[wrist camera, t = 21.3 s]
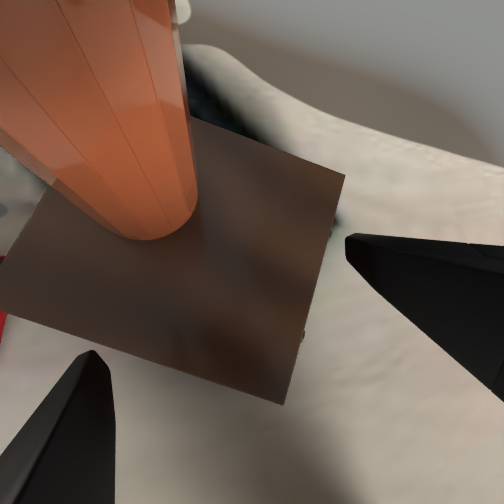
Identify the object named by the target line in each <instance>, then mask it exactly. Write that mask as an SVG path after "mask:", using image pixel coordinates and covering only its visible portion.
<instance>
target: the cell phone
mask: <svg viewBox="0 0 504 504" xmlns="http://www.w3.org/2000/svg"><path fill="white" fill-rule="evenodd" d="M4 259H5V256H0V265H1V264H2V262H3V260H4ZM6 316H7V313H6V312H3V311H0V342H1V338H2V333H3V329H4V325H5V320H6Z"/></svg>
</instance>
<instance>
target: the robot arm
mask: <svg viewBox="0 0 504 504" xmlns="http://www.w3.org/2000/svg"><path fill="white" fill-rule="evenodd" d="M345 255H346V259H347V261H348V262H349V263H350V264H351V265H352V266H353V267H354V268H355V270H356V271H357V272H358V273H359V274H360V275H361V276H362V277H363V278H364V279H365V280H366V281H367V282H368V283H369V285H370V286H371V287H372V288H373V289H374V290H376V291H377V292H378V293H379V294H380V295H381V296H382V297H383V298H385V299H386V300H387V301H388V302H389V303H390V304H391V305H393V306H394V307H395V308H396V309H397V310H398V311H400V312H401V313H402V314H403V315H404V316H405V317H406V318H408V319H409V320H410V321H411V322H412V323H413V324H415V325H416V326H417V327H418V328H419V329H420V330H421V331H423V332H424V333H425V334H426V335H427V336H428V337H429V338H431V339H432V340H433V341H434V342H435V343H436V344H438V345H439V346H440V347H441V348H442V349H443V350H444V351H446V352H447V353H448V354H449V355H450V356H451V357H453V358H454V359H455V360H456V361H457V362H458V363H459V364H461V365H462V366H463V367H464V368H465V369H466V370H468V371H469V372H470V373H471V374H472V375H473V376H474V377H476V378H477V379H478V380H479V381H480V382H481V383H482V384H484V385H485V386H486V387H487V388H488V389H490V390H491V391H492V392H493V393H494V394H495V395H496V396H497V397H498V398H500V399H501V400H502V401H503V402H504V246H496V245H483V244H472V243H470V244H467V243H461V242H450V241H439V240H428V239H417V238H406V237H395V236H384V235H373V234H362V233H354V234H352V235H350V236H347V237H346V238H345ZM115 443H116V421H115V410H114V400H113V391H112V382H111V373H110V369H109V367H108V366H107V364H106V363H105V362H104V361H103V359H102V358H101V357H100V356H99V355H98V353H97V352H96V351H94V350H90V351H87V352H85V353H83V354H81V355H79V356H77V357H76V359H75V360H74V361H73V362H72V364H71V365H70V366H69V368H68V369H67V370H66V372H65V373H64V374H63V375H62V377H61V378H60V379H59V381H58V382H57V383H56V384H55V386H54V387H53V388H52V390H51V391H50V392H49V394H48V395H47V396H46V397H45V399H44V400H43V401H42V403H41V404H40V405H39V406H38V408H37V409H36V410H35V412H34V413H33V414H32V416H31V417H30V418H29V419H28V421H27V422H26V423H25V425H24V426H23V427H22V428H21V430H20V431H19V432H18V434H17V435H16V436H15V437H14V439H13V440H12V441H11V443H10V444H9V445H8V447H7V448H6V449H5V450H4V452H3V453H2V454H1V456H0V504H115Z"/></svg>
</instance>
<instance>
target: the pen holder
mask: <svg viewBox="0 0 504 504" xmlns="http://www.w3.org/2000/svg"><path fill="white" fill-rule="evenodd" d="M0 147H2V148H3V149H4V150H6V151H7V152H8V153H9V154H11V155H12V156H13V157H14V158H16V159H17V160H18V161H20V162H21V163H22V164H23V165H25V166H26V167H27V168H29V169H30V170H31V171H32V172H34V173H35V174H36V175H38V176H39V177H40V178H41V179H43V180H44V181H45V182H46V183H48V184H49V185H50V186H52V187H53V188H54V189H55V190H57V191H58V192H59V193H61V194H62V195H63V196H64V197H66V198H67V199H68V200H69V201H71V202H72V203H73V204H75V205H76V206H77V207H78V208H80V209H81V210H82V211H84V212H85V213H86V214H87V215H89V216H90V217H91V218H93V219H94V220H95V221H96V222H98V223H99V224H100V225H101V226H103V227H104V228H106V229H108V230H110V231H111V232H113V233H114V234H117V235H119V236H121V237H124V238H127V239H133V240H152V239H157V238H161V237H164V236H166V235H169V234H171V233H172V232H174V231H176V230H177V229H179V228H180V227H181V226H182V225H183V224H184V223H185V222H186V221H187V220H188V219H189V218H190V216H191V215H192V213H193V211H194V210H195V207H196V205H197V201H198V195H199V186H198V172H197V165H196V157H195V150H194V142H193V135H192V127H191V120H190V112H189V105H188V97H187V90H186V82H185V75H184V67H183V60H182V52H181V45H180V37H179V30H178V22H177V15H176V7H175V0H0Z"/></svg>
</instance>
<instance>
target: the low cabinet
mask: <svg viewBox="0 0 504 504" xmlns="http://www.w3.org/2000/svg"><path fill="white" fill-rule="evenodd" d="M190 120H191V127H192V135H193V142H194V150H195V157H196V165H197V172H198V186H199V195H198V201H197V205H196V207H195V210H194V211H193V213H192V215H191V216H190V218H189V219H188V220H187V221H186V222H185V223H184V224H183V225H182V226H181V227H180V228H179V229H177V230H176V231H174V232H172V233H171V234H169V235H166V236H164V237H161V238H157V239H152V240H133V239H127V238H124V237H121V236H119V235H117V234H114V233H113V232H111V231H110V230H108V229H106V228H104V227H103V226H101V225H100V224H99V223H98V222H96V221H95V220H94V219H93V218H91V217H90V216H89V215H87V214H86V213H85V212H84V211H82V210H81V209H80V208H78V207H77V206H76V205H75V204H73V203H72V202H71V201H69V200H68V199H67V198H66V197H64V196H63V195H62V194H61V193H59V192H58V191H57V190H55V189H54V188H53V187H52V186H50V185H49V187H48V189H47V190H46V192H45V194H44V195H43V197H42V199H41V200H40V202H39V203H38V205H37V207H36V208H35V210H34V212H33V213H32V215H31V216H30V218H29V220H28V221H27V223H26V225H25V226H24V228H23V229H22V231H21V233H20V234H19V236H18V238H17V239H16V241H15V243H14V244H13V246H12V247H11V249H10V251H9V252H8V254H7V256H6V257H5V259H4V260H3V262H2V264H1V265H0V311H3V312H6V313H9V314H12V315H14V316H17V317H20V318H23V319H26V320H29V321H32V322H35V323H38V324H41V325H44V326H47V327H50V328H53V329H56V330H59V331H62V332H65V333H68V334H71V335H74V336H77V337H80V338H83V339H86V340H89V341H92V342H95V343H98V344H101V345H104V346H107V347H110V348H113V349H116V350H119V351H122V352H125V353H128V354H131V355H134V356H137V357H140V358H143V359H146V360H149V361H152V362H155V363H157V364H160V365H163V366H166V367H169V368H172V369H175V370H178V371H181V372H184V373H187V374H190V375H193V376H196V377H199V378H202V379H205V380H208V381H211V382H214V383H217V384H220V385H223V386H226V387H229V388H232V389H235V390H238V391H241V392H244V393H247V394H250V395H253V396H256V397H259V398H262V399H265V400H268V401H271V402H274V403H277V404H280V405H284V403H285V399H286V395H287V391H288V388H289V384H290V380H291V377H292V373H293V369H294V365H295V362H296V358H297V354H298V350H299V347H300V343H302V341H303V339H304V336H305V330H304V328H305V324H306V321H307V317H308V313H309V309H310V306H311V302H312V298H313V294H314V291H315V287H316V283H317V280H318V276H319V272H320V268H321V265H322V261H323V257H324V253H325V250H326V246H327V242H328V241H329V239H330V237H331V234H332V231H331V227H332V224H333V220H334V216H335V212H336V209H337V205H338V201H339V198H340V194H341V190H342V186H343V183H344V179H345V175H344V174H341V173H338V172H336V171H333V170H330V169H328V168H325V167H323V166H320V165H317V164H315V163H312V162H309V161H307V160H304V159H302V158H299V157H296V156H294V155H291V154H289V153H286V152H283V151H281V150H278V149H275V148H273V147H270V146H268V145H265V144H262V143H260V142H257V141H254V140H252V139H249V138H247V137H244V136H241V135H239V134H236V133H233V132H231V131H228V130H226V129H223V128H220V127H218V126H215V125H213V124H210V123H207V122H205V121H202V120H199V119H197V118H194V117H192V116H190Z"/></svg>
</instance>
